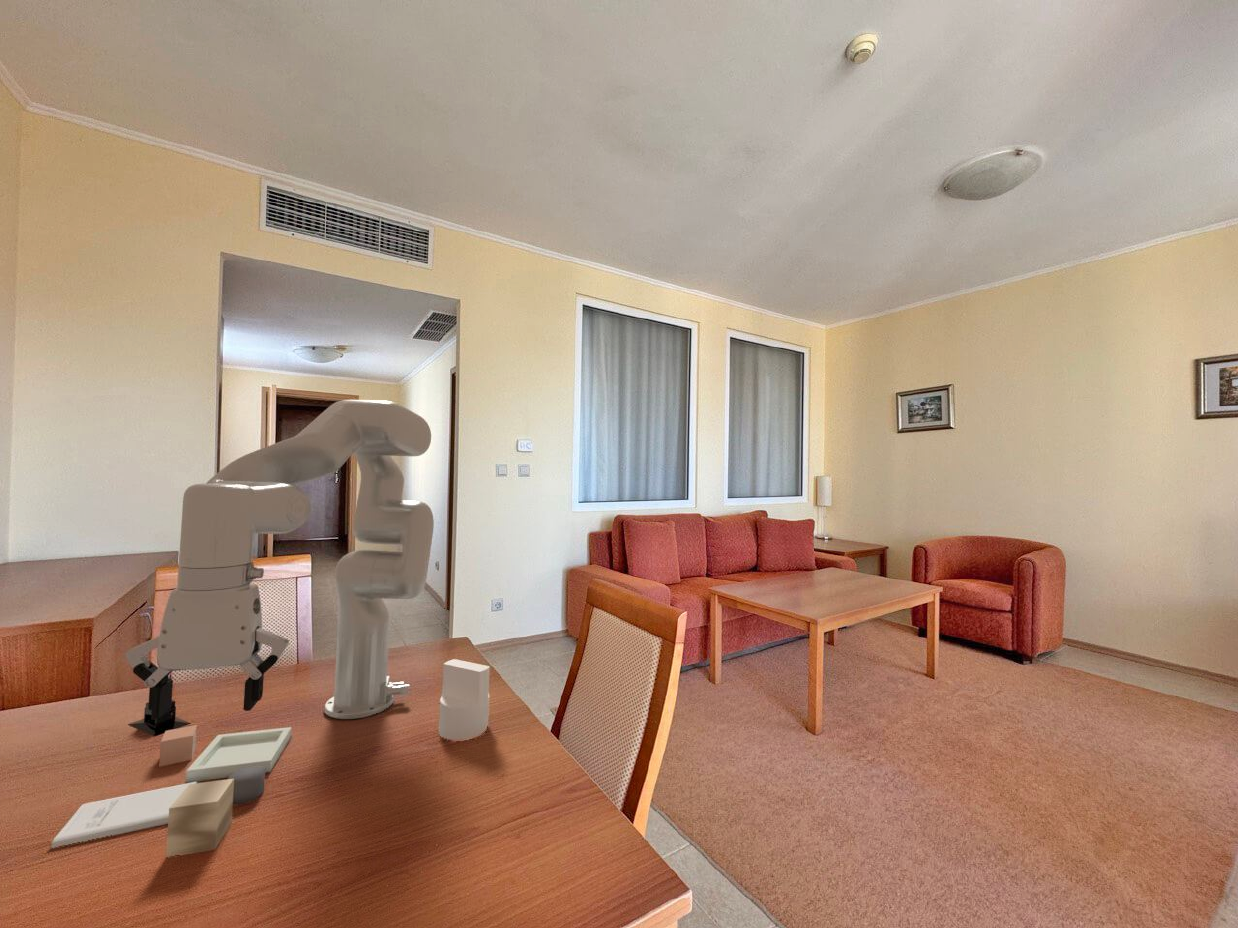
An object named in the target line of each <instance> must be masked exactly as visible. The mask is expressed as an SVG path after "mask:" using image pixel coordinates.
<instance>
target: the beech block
mask: <svg viewBox="0 0 1238 928" xmlns="http://www.w3.org/2000/svg"><path fill="white" fill-rule="evenodd" d="M233 790H234V779H228V778H227V779H222V780H221V779H220V780H214V781H212V780H211V781H206V782H205V781H204V782H197V783H196V784H189V785H188V786H187V788H186V789H185V790H184V791H183V792H182V794H181V795H180V796H179V797H178V798H177V800H176V801H175V802H174V803H173V804H172V805H171V807H170V808H169V818H168V825H167V836H166V837H167V838H166V850H165V851H166V853H165V855H166V856H165V858H166V857H168V858H170V857H169V856H174V857H176V856H175V855H180V856H185V855H190V854H197V853H203V852H210V851H216V849H217V847H218V846H219V845H220V843H221V841H222V840H223V838H224V836H225V835H226V833H227V832H228V831H229V828H230V827H231V825H232V822H233V821H232V820H233V805H234V804H233Z"/></svg>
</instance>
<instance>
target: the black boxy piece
mask: <svg viewBox="0 0 1238 928" xmlns="http://www.w3.org/2000/svg"><path fill="white" fill-rule="evenodd" d="M148 705H149V701H148V702H145V707H144V713H143V714H144V715H143V718H142V719H140V720H136V721H134V722H131V723H127V726H130V727H131V728H133V729H136V730H138V731H141V732H143V733H146V735H147V734H148V735H149V736H152V737H157V736H161V735H164V733H165V731H167V730H173V729H178V728H183V727H187V726H188V725H190V724H191V722H189V721H187V720H184V719H181V718H179V717H177V716H176V713H177V712H176V710H177V707H176V700H173V699H172V703H171V709H170V710H168V711H167V712H166V713H165V714H164V715H162V716H161V717H160V718H158V719H154V720H152V719H151V712H152V710H149V709H148Z"/></svg>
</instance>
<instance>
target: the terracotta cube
mask: <svg viewBox="0 0 1238 928" xmlns="http://www.w3.org/2000/svg"><path fill="white" fill-rule="evenodd" d="M197 727H198V725H197V724H195V725H190V726H183V727H180V728H178V729H173V730H167V731H165V733H164V734H163V736H162V738H161V740H160V744H159V745H160V747H159V764H158V766H159V768H160V767H164V766H168V765H174V764H179V763H184V762H187V761H192V760H193V757H194V755H195V751H196V748H197V746H196V744H197V730H198V728H197Z"/></svg>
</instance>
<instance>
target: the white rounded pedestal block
mask: <svg viewBox="0 0 1238 928" xmlns="http://www.w3.org/2000/svg"><path fill="white" fill-rule="evenodd" d="M490 667H491V666H489V665H485V664H480V663H476V662H475V663H474V662H470V661H466V660H462V659H461V660H460V659H456V658H452V659H451V660H447V661H446V662H444V663H443V668H442V669H443V671H442V673H443V674H442V688H441V689H442V691H441V692H442V693H441V697H440V699H439V717H438V718H439V719H438V721H439V722H438V735H439V734H440V735H439V736H441V738H442V737H444V738H447V739H452V740H460V739H467V738H470V737H475V736H477V735H479V734H481V733H482V732H483V731H484V730H485V729H486V728H487V726H488V727H489V716H490V698H491V697H490V692H489V691H490V676H491V675H490V671H491V670H490V669H491V668H490Z"/></svg>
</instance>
